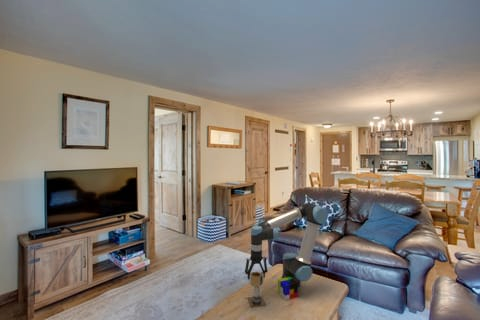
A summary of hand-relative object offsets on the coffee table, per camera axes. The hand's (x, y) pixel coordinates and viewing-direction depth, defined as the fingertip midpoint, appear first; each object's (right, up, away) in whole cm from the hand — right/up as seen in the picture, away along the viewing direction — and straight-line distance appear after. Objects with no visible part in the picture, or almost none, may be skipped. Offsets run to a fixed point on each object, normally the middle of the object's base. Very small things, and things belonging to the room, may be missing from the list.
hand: (256, 282), depth 168 cm
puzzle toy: (+23, -13, +9) cm, 28 cm away
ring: (0, 0, 0) cm, 0 cm away
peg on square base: (0, -13, 0) cm, 13 cm away
